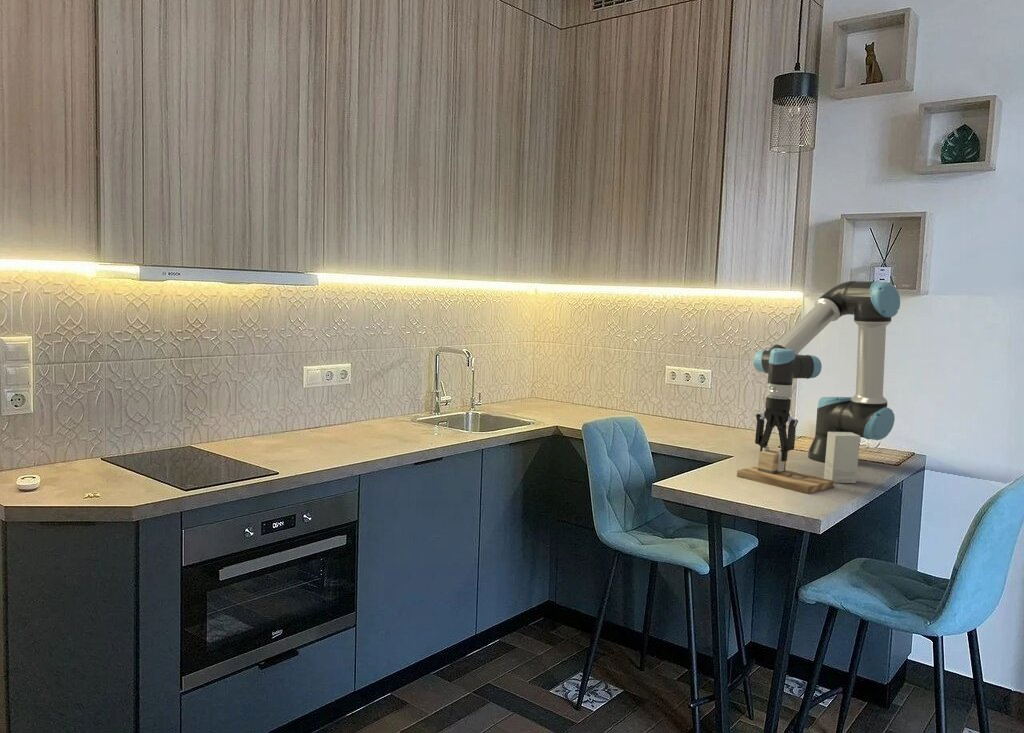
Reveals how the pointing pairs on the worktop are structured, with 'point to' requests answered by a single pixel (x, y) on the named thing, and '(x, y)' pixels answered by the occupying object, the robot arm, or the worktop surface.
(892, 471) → the worktop surface
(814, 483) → the board
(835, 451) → the skincare box
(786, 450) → the robot arm
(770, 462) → the block
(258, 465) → the worktop surface
